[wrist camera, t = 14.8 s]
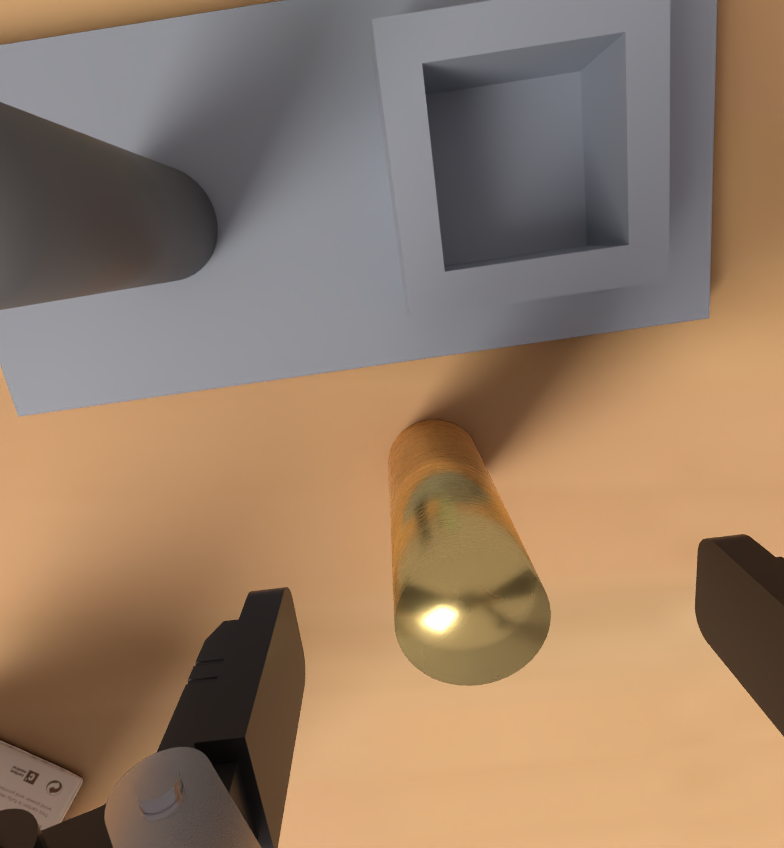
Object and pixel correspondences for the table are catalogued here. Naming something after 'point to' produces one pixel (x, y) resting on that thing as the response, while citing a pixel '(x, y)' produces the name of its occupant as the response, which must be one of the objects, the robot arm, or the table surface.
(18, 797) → the skincare box
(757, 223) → the table surface
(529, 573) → the brass pin
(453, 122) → the board
